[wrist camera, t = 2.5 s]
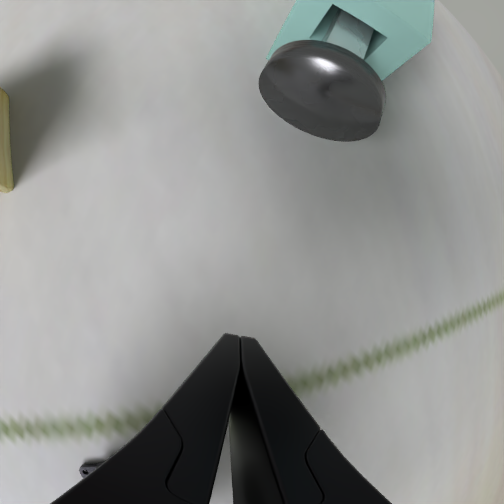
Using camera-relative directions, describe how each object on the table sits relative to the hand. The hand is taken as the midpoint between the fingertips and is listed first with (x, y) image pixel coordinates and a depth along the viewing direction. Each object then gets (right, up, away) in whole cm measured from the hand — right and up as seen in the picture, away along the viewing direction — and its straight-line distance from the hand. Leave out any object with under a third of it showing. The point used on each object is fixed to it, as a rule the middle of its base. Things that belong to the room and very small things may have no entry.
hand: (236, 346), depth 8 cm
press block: (+7, +22, +16) cm, 28 cm away
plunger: (+6, +16, +12) cm, 21 cm away
